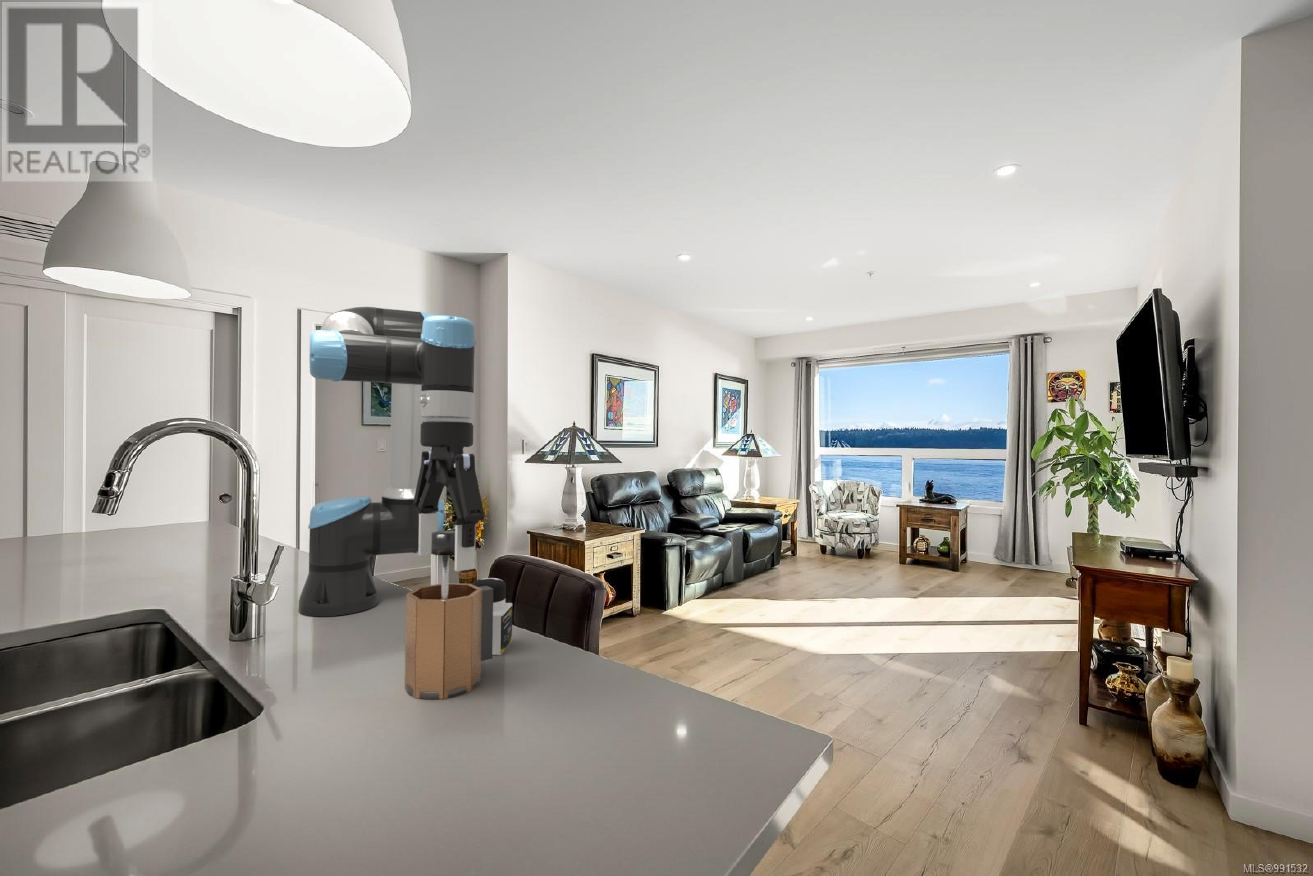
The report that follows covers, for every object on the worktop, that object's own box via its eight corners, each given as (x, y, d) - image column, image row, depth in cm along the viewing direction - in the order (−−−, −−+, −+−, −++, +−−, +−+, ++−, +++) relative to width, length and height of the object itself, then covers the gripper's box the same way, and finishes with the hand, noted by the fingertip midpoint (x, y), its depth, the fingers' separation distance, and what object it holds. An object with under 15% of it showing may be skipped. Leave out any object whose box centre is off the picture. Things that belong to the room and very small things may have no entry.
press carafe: (395, 682, 90) (397, 590, 90) (473, 662, 98) (475, 577, 98) (421, 706, 82) (423, 605, 82) (504, 682, 90) (505, 590, 90)
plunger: (408, 675, 90) (410, 531, 89) (457, 663, 95) (459, 527, 95) (428, 692, 84) (430, 539, 84) (478, 678, 89) (480, 533, 89)
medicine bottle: (501, 656, 101) (502, 585, 101) (459, 655, 101) (461, 585, 101) (512, 641, 108) (513, 576, 108) (473, 640, 108) (474, 575, 108)
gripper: (393, 420, 96) (391, 551, 96) (458, 419, 77) (456, 581, 77) (438, 421, 101) (437, 546, 101) (510, 420, 82) (508, 573, 82)
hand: (445, 561), depth 89 cm, fingers open, 13 cm apart
